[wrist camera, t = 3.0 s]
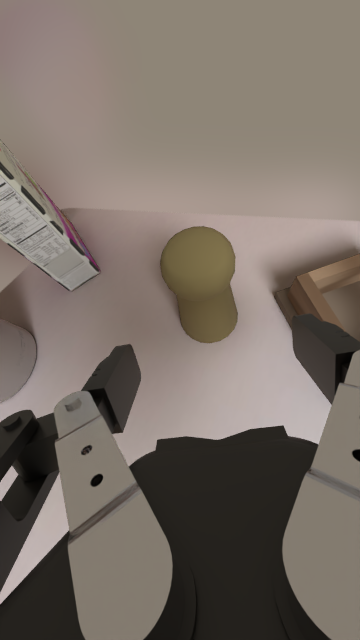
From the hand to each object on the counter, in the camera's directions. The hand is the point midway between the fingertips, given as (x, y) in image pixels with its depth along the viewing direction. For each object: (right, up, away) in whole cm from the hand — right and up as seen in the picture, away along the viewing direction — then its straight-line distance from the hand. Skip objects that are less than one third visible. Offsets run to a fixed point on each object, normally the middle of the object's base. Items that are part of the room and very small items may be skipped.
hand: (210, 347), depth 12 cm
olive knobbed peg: (+1, +2, +13) cm, 13 cm away
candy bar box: (-16, +10, +20) cm, 28 cm away
